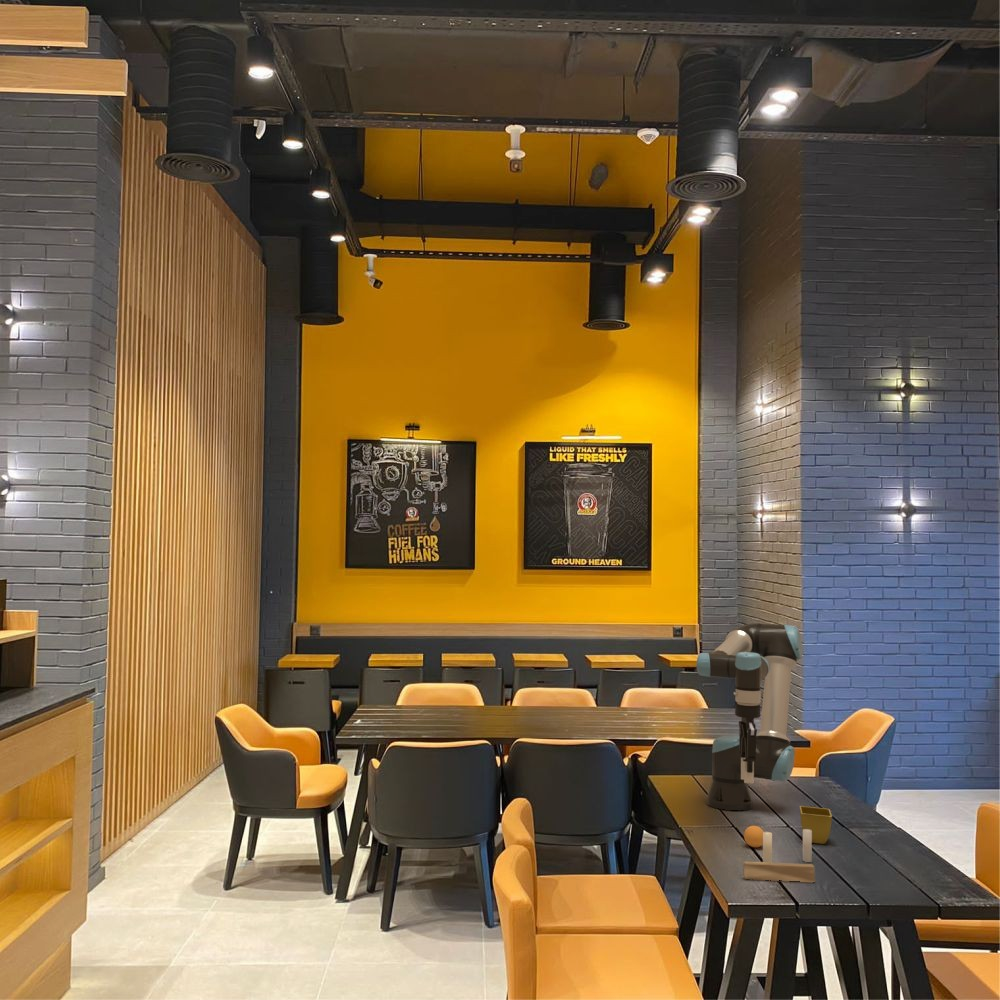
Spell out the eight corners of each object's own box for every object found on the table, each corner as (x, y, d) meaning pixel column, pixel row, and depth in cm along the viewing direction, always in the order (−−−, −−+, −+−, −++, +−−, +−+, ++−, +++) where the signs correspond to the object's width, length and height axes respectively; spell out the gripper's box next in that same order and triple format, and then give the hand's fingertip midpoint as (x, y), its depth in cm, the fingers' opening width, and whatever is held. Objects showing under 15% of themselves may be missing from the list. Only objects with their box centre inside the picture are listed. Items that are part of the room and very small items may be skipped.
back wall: (743, 876, 238) (743, 861, 238) (812, 879, 237) (812, 864, 238) (745, 879, 236) (745, 864, 236) (814, 882, 235) (814, 866, 236)
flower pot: (829, 838, 274) (829, 808, 274) (832, 847, 265) (832, 816, 266) (799, 835, 276) (799, 805, 277) (800, 844, 268) (800, 813, 268)
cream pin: (761, 862, 250) (762, 831, 250) (770, 863, 250) (770, 831, 250) (764, 865, 247) (764, 834, 248) (772, 866, 247) (773, 834, 248)
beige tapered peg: (801, 859, 253) (801, 828, 254) (810, 860, 253) (810, 829, 254) (804, 862, 251) (804, 831, 251) (812, 862, 251) (812, 831, 251)
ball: (741, 843, 267) (742, 822, 267) (762, 844, 266) (762, 823, 267) (746, 849, 261) (746, 828, 261) (767, 850, 260) (767, 829, 261)
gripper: (729, 698, 285) (729, 774, 283) (741, 707, 268) (740, 787, 266) (753, 699, 284) (753, 774, 283) (767, 708, 268) (766, 788, 266)
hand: (747, 780), depth 275 cm, fingers open, 4 cm apart
